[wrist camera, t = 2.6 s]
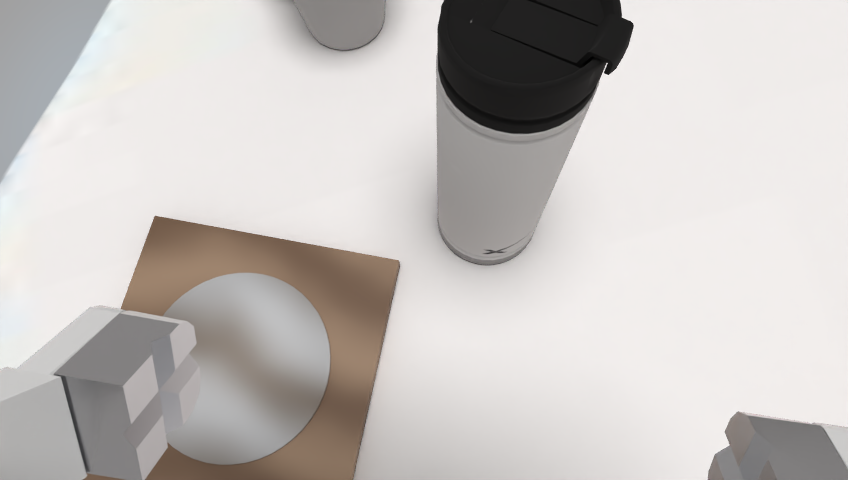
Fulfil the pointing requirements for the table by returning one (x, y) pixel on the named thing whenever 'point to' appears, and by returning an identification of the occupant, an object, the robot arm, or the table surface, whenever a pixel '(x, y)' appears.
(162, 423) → the robot arm
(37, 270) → the table surface
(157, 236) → the board
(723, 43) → the table surface
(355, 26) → the cup
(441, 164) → the travel mug
